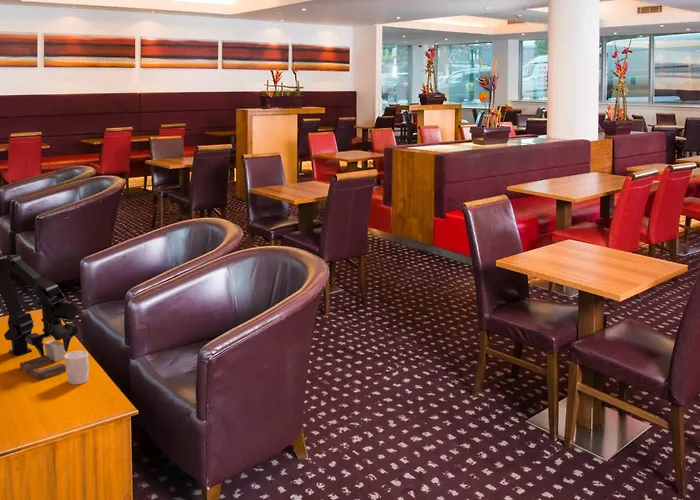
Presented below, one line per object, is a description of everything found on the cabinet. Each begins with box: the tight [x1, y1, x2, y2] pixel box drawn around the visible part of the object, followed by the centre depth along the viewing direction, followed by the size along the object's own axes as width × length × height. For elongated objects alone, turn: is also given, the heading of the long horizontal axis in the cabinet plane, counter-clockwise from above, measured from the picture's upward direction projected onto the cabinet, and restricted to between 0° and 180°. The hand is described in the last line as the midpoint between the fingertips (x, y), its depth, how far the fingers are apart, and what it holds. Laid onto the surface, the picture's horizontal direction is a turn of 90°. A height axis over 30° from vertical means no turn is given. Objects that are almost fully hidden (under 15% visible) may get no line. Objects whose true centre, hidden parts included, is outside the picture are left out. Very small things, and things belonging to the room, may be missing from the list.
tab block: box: [44, 339, 66, 363], centre depth 279 cm, size 7×4×6 cm, turn 50°
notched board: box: [19, 354, 67, 381], centre depth 267 cm, size 14×10×2 cm
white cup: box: [64, 350, 90, 385], centre depth 258 cm, size 8×8×10 cm
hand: (54, 354), depth 279 cm, fingers open, 9 cm apart
